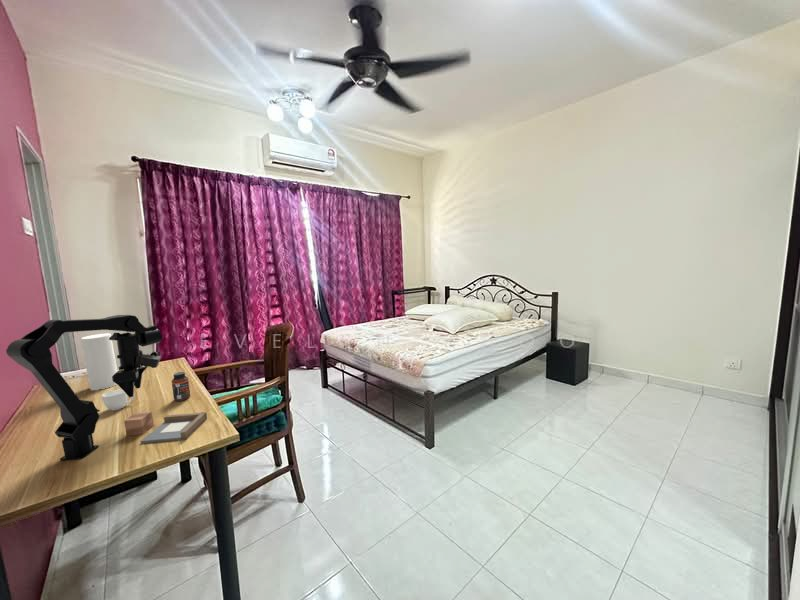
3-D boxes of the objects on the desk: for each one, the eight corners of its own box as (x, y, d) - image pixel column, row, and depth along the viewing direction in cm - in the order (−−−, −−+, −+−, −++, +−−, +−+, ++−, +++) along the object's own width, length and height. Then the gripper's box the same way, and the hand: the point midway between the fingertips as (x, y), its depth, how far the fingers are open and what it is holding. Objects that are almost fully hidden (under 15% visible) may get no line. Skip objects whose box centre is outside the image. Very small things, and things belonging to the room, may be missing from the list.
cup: (103, 409, 134) (100, 393, 133) (134, 400, 141) (131, 385, 140) (106, 414, 129) (103, 398, 128) (138, 405, 136) (135, 389, 135)
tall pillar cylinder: (125, 381, 165) (116, 333, 161) (103, 390, 154) (93, 338, 151) (106, 381, 166) (98, 333, 163) (84, 390, 156) (74, 339, 152)
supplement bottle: (182, 402, 137) (178, 376, 136) (170, 401, 138) (166, 375, 137) (194, 395, 143) (190, 371, 141) (182, 395, 144) (178, 370, 143)
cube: (143, 434, 113) (141, 419, 112) (126, 435, 112) (124, 420, 111) (154, 426, 118) (151, 411, 117) (137, 427, 118) (135, 413, 117)
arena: (186, 439, 108) (185, 432, 107) (141, 443, 107) (139, 436, 106) (207, 418, 122) (206, 412, 121) (167, 421, 120) (166, 415, 120)
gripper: (150, 352, 111) (156, 396, 113) (162, 341, 128) (166, 380, 129) (108, 357, 106) (115, 404, 108) (125, 345, 123) (131, 385, 125)
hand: (134, 392), depth 118 cm, fingers open, 9 cm apart
